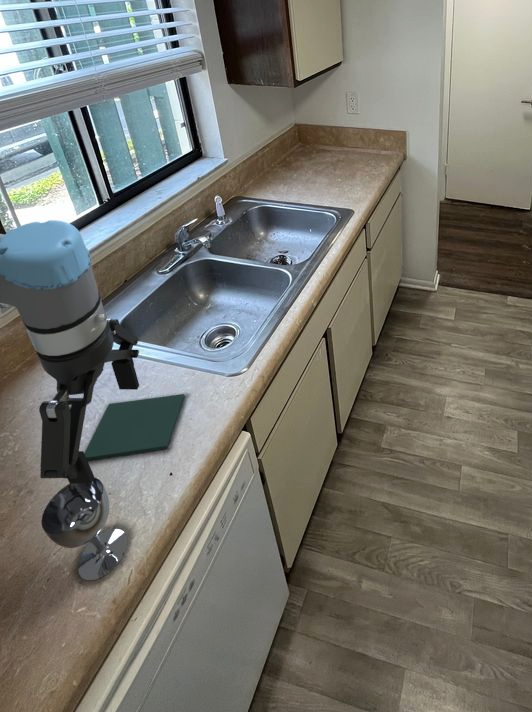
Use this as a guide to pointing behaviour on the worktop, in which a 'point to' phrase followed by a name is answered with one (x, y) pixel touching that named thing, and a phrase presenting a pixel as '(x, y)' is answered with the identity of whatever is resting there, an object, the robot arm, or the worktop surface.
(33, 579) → the worktop surface
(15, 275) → the robot arm
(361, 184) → the worktop surface
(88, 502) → the wine glass
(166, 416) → the mat
